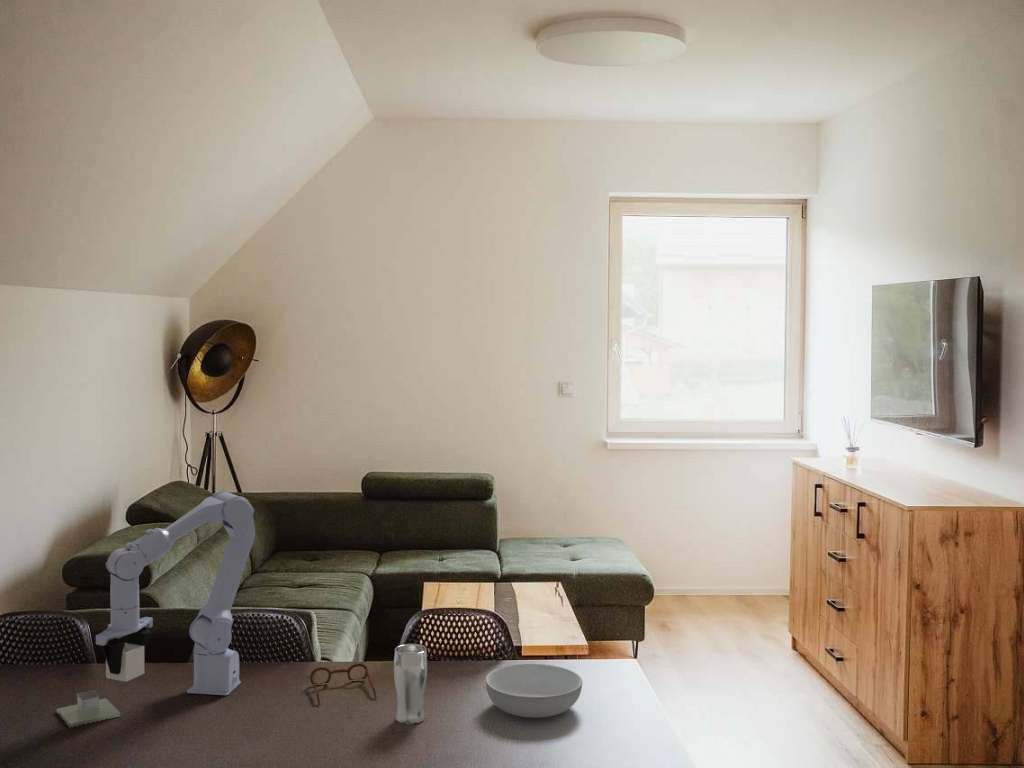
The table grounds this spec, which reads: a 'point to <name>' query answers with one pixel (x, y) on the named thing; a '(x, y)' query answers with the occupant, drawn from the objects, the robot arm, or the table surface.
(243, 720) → the table surface
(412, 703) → the beer glass
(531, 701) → the serving bowl
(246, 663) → the table surface
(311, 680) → the glasses
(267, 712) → the table surface
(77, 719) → the duct stub
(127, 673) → the sleeve
